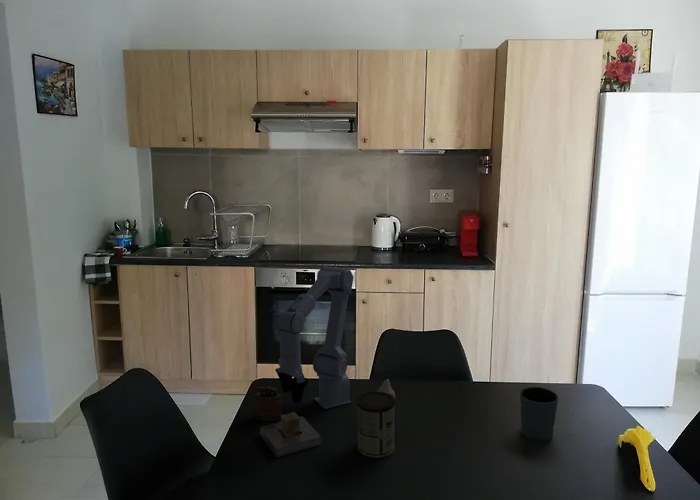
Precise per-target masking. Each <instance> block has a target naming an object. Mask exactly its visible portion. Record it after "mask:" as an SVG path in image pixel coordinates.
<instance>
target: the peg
mask: <svg viewBox="0 0 700 500" xmlns="http://www.w3.org/2000/svg"><path fill="white" fill-rule="evenodd" d="M299 417H300V416H298V414H297V413H296V412H295V411H293V412H288V413H285V414H281V419H280V422H281V430H282V436H283V437H284V439H285V438H289V437H293V436H296V435H300V418H299Z"/></svg>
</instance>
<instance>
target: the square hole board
mask: <svg viewBox="0 0 700 500" xmlns="http://www.w3.org/2000/svg"><path fill="white" fill-rule="evenodd" d="M298 417H299V418H300V435H296V436H293V437H289V438H285V439H284V437H283V436H282V430H281V421H278V422H274V423H270V424H267V425H262V426H260V427H259V429H260V430H259V431H260V437H261V438H262V439H263V440H264V442H265V444H266V445H267V446H268V448H269V449H270V450H271V452H272V453H273V455H274V456H275V457H276V458H280V457H284V456H287V455H291V454H294V453H297V452H301V451H305V450H308V449H311V448H315V447H318V446H321V445H322V436H321V435H320V433H318V431H317V430H316V429H315V428H313V426H312V425H311V424H310V423H309V422H308V421H307V419H306V418H305V417H304V416H301V415H300V416H298Z"/></svg>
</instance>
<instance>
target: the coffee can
mask: <svg viewBox="0 0 700 500" xmlns="http://www.w3.org/2000/svg"><path fill="white" fill-rule="evenodd" d="M377 391H378V390H377ZM377 391H368V392H365V393H361V394H359V396H357V398H356V410H357V412H356V413H357V416H356V417H357V421H356V422H357V451H358V452H359V453H360V454H362V455H363V456H365V457H367V458H371V459H372V458H373V459H376V458H377V459H380V458H386V457H388V456H390V455H391V454H393V452H394V451H395V449H396V448H395V447H396V446H395V412H396V410H395V405H396V397H395V398H394V397H393V396H392V395H390V394H388V393H384V392H377Z"/></svg>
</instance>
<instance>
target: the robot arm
mask: <svg viewBox="0 0 700 500" xmlns="http://www.w3.org/2000/svg"><path fill="white" fill-rule="evenodd" d="M353 282H354V274H353V273H352V270H351V269H350V268H342V267H333V266H328V265H322V267H320V269H319V270H317V274H316V279H315V281H314V282H313V283H312V285H311V286H310V287H309V289H308V290H307V291H306V293H300V294H299V295H298V296H297V297H296V298H295V300H294V301H293V302H292V303H291V304H290V305H289V306H288V307H287V309H283V310H281V311H279V312H278V313H277V315H276V316H275V321H274V327H275V329H276V330H277V331H276V332H277V337H279V352H280V353H279V354H280V357H279V358H278V366H279V367H278V368H277V367H276V368H275V370H274V371H275V372H276V375H277V376H278V379H279V381H280V385H281V388H282V389H281V390H282V392H283V393H288V392H291V393H290V394H291V400H292V402H293V404H297V403H298V404H299V403H301V402H302V398H303V394H304V391H305V387H306V386H307V384H308V383H309V379H308V378H307V377H305V374H304V373H303V366H302V362H301V361H302V360H301V357H302V356H301V355H302V353H301V331H302V330H303V329H304V325H305V322H306V320H307V317H308V316H309V315H310V314H311V312H312V311H313V310H314V309H315V308H316V301H317V300H318V299H319V298H320V297H321V296H322V295H323V294H325V293H326V291H327V292H328V293H329V295H330V296H331V301H330V308H329V313H328V320H327V327H326V331H325V338H324V339H325V340H324V345H322V346H321V347H319V348H318V349H317V350H316V354H315V357H314V359H313V361H312V368H313V371H314V372H315V373H316V377H318V391H319V392H318V395H319V396H318V397H315V398H314V400H315V402H317V404H319V405H320V406H321V407H322V408H323V409H324V410H327V409H331V408H335V407H339V406H343V405H346V404H350V403H351V402H352V400H350V398H351V397H350V396H351V395H350V394H351V391H350V378H349V376H348V374H347V369H348V363H347V362H348V361H347V357H348V354H347V353H346V352H345V351H344V349H342V347H341V345H342V338H343V332H344V327H345V326H344V325H345V321H346V320H345V319H346V313H347V306H348V300H349V296H350V295H352V290H353V284H354V283H353Z"/></svg>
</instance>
